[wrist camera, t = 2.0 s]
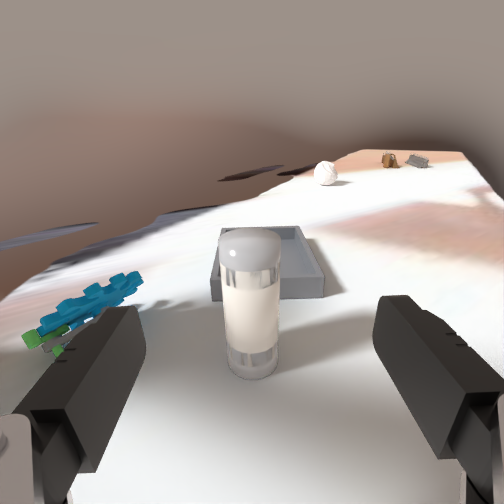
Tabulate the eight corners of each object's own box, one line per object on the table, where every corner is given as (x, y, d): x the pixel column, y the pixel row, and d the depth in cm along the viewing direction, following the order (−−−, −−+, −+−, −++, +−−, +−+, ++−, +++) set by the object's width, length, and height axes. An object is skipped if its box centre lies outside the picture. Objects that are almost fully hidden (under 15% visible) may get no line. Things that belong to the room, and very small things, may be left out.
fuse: (226, 380, 23) (214, 253, 18) (229, 341, 27) (220, 228, 22) (280, 378, 23) (284, 251, 18) (275, 339, 27) (277, 227, 22)
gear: (134, 284, 34) (140, 253, 26) (160, 323, 34) (175, 304, 26) (33, 339, 28) (-1, 320, 20) (63, 388, 28) (41, 389, 19)
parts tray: (212, 301, 33) (209, 280, 32) (223, 243, 49) (221, 228, 48) (322, 297, 34) (324, 276, 32) (297, 241, 49) (298, 225, 48)
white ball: (334, 188, 88) (337, 163, 84) (311, 186, 90) (312, 162, 87) (337, 183, 94) (340, 160, 91) (315, 182, 97) (317, 159, 94)
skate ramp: (443, 171, 113) (448, 152, 110) (355, 171, 119) (358, 153, 116) (416, 162, 139) (420, 146, 136) (345, 162, 145) (347, 147, 142)
